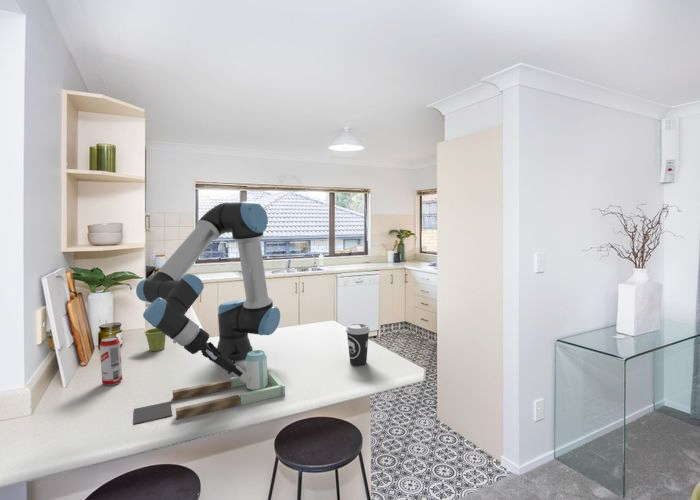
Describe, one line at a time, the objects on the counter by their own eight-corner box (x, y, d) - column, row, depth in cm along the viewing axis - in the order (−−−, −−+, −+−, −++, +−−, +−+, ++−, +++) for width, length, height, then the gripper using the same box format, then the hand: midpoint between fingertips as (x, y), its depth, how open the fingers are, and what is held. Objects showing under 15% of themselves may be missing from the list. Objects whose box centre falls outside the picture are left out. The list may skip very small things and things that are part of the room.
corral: (240, 404, 122) (240, 395, 122) (230, 386, 136) (230, 377, 136) (285, 394, 128) (284, 385, 128) (270, 377, 143) (270, 369, 142)
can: (243, 386, 136) (242, 352, 135) (262, 381, 140) (261, 348, 139) (251, 393, 130) (250, 357, 129) (271, 387, 134) (270, 353, 133)
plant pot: (148, 354, 170) (147, 334, 170) (142, 349, 177) (141, 330, 177) (171, 349, 176) (170, 330, 176) (164, 344, 184) (163, 326, 183)
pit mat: (133, 424, 111) (133, 423, 111) (134, 409, 120) (134, 408, 120) (172, 415, 116) (172, 414, 116) (170, 402, 124) (170, 401, 124)
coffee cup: (368, 368, 150) (367, 329, 149) (343, 366, 152) (343, 328, 151) (371, 359, 160) (371, 323, 159) (348, 358, 162) (348, 322, 161)
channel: (176, 419, 113) (176, 411, 113) (172, 397, 127) (172, 390, 127) (240, 405, 122) (239, 397, 122) (229, 386, 136) (229, 379, 136)
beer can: (107, 387, 136) (105, 342, 135) (98, 384, 139) (95, 339, 138) (126, 381, 141) (123, 337, 140) (116, 378, 145) (114, 335, 144)
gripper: (180, 341, 126) (235, 381, 135) (184, 353, 114) (244, 396, 123) (197, 322, 128) (250, 363, 137) (203, 332, 117) (260, 376, 125)
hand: (247, 379), depth 130 cm, fingers closed
